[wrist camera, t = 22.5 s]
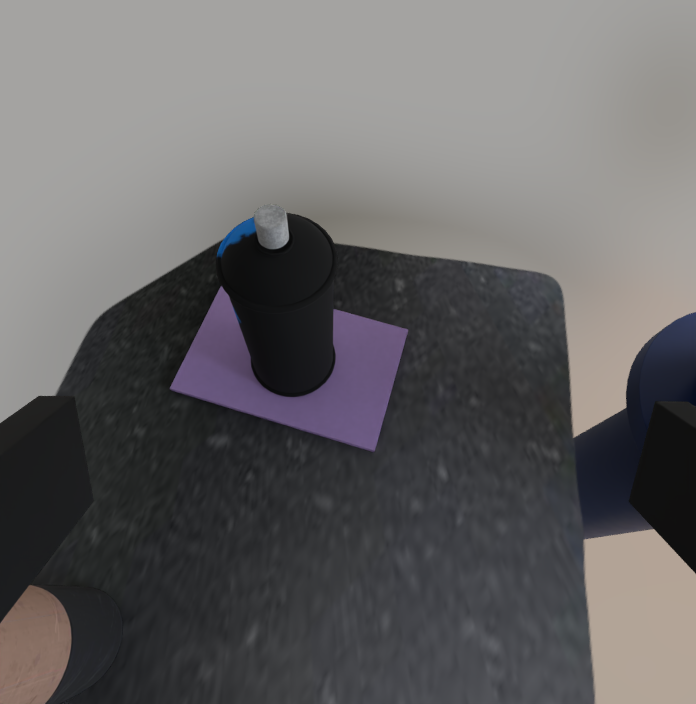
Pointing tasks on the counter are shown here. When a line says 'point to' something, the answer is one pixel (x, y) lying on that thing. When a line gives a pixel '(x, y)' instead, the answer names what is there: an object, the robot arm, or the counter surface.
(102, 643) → the travel mug
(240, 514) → the counter surface
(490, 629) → the counter surface
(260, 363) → the aerosol can
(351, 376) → the towel
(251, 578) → the counter surface
